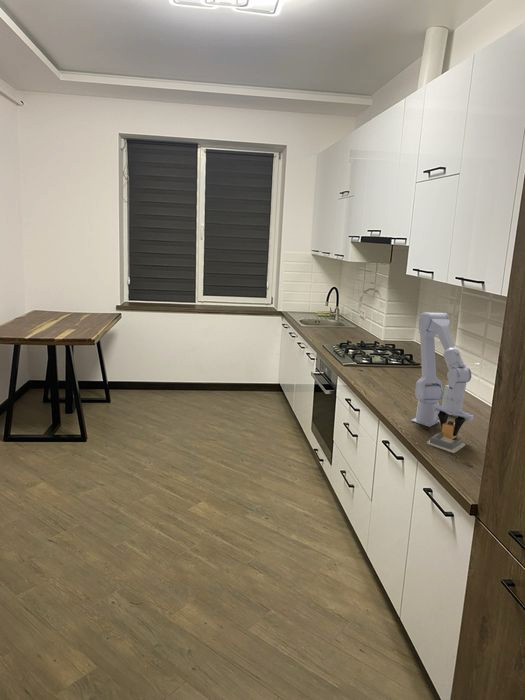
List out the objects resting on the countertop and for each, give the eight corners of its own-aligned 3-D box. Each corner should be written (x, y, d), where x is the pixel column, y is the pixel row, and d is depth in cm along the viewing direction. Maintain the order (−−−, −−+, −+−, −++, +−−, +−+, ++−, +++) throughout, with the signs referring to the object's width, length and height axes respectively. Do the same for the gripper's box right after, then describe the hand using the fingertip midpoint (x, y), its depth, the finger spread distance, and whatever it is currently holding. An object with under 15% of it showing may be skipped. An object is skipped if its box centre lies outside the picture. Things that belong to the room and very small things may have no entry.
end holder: (438, 437, 191) (439, 429, 190) (464, 445, 184) (466, 438, 184) (426, 443, 183) (427, 436, 183) (453, 453, 177) (455, 445, 176)
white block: (447, 415, 216) (452, 388, 213) (440, 412, 220) (444, 384, 217) (458, 414, 218) (463, 387, 215) (451, 411, 222) (455, 384, 219)
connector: (448, 432, 197) (451, 417, 195) (458, 435, 194) (461, 420, 193) (440, 436, 191) (443, 421, 190) (451, 440, 189) (453, 425, 187)
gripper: (431, 395, 190) (426, 429, 193) (470, 406, 181) (464, 442, 184) (439, 392, 195) (434, 425, 198) (478, 402, 186) (471, 437, 189)
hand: (449, 433), depth 191 cm, fingers closed on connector, 4 cm apart
